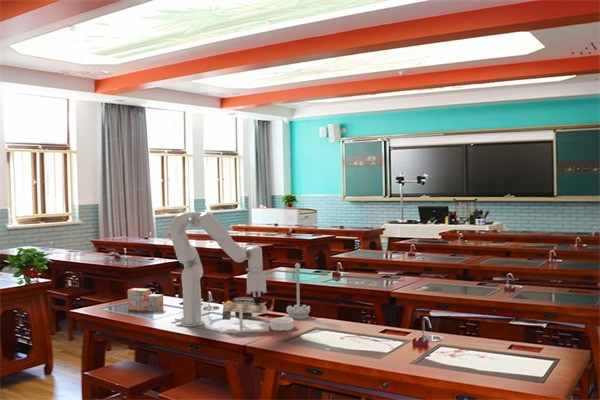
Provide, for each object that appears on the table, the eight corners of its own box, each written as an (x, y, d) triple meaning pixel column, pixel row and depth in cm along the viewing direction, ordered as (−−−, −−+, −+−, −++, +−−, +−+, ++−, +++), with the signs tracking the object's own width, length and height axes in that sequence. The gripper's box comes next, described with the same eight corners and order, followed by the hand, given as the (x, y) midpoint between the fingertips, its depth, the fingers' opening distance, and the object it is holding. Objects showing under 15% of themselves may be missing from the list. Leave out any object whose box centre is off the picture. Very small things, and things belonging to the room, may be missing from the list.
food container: (256, 314, 336) (256, 297, 335) (254, 316, 330) (254, 299, 329) (235, 314, 337) (234, 296, 337) (232, 316, 331) (232, 299, 330)
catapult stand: (219, 333, 294) (218, 311, 294) (220, 327, 306) (219, 306, 306) (269, 331, 297) (268, 309, 296) (267, 325, 309) (267, 304, 308)
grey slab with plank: (222, 319, 297) (223, 305, 297) (223, 311, 314) (224, 299, 314) (265, 322, 299) (266, 308, 299) (264, 314, 317) (265, 301, 317)
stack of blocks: (163, 309, 352) (163, 289, 352) (157, 312, 347) (157, 291, 346) (134, 307, 360) (133, 287, 360) (127, 309, 354) (127, 289, 354)
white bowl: (271, 331, 297) (270, 323, 297) (269, 325, 309) (269, 317, 309) (294, 330, 298) (294, 322, 298) (292, 324, 310) (292, 317, 310)
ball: (224, 309, 298) (225, 301, 298) (225, 307, 302) (226, 299, 302) (232, 310, 298) (233, 302, 298) (232, 308, 302) (233, 300, 302)
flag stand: (307, 319, 321) (307, 265, 320) (284, 319, 323) (283, 264, 322) (312, 314, 333) (311, 261, 333) (289, 313, 336) (288, 261, 335)
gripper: (241, 271, 309) (243, 306, 309) (270, 270, 310) (271, 304, 311) (241, 269, 316) (243, 303, 317) (269, 268, 318) (270, 301, 318)
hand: (257, 303), depth 314 cm, fingers closed
